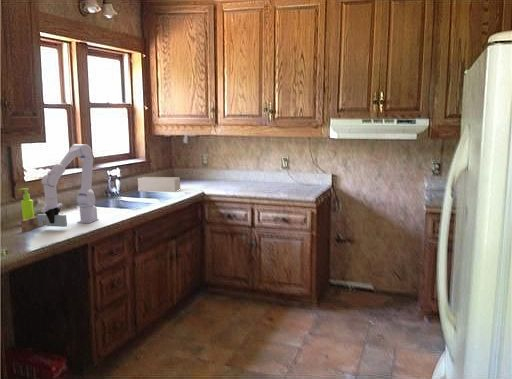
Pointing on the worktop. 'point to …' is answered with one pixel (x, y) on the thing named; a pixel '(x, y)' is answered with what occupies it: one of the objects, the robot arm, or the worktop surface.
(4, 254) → the worktop surface
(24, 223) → the walnut board
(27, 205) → the soap dispenser
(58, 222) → the grey block
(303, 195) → the worktop surface
